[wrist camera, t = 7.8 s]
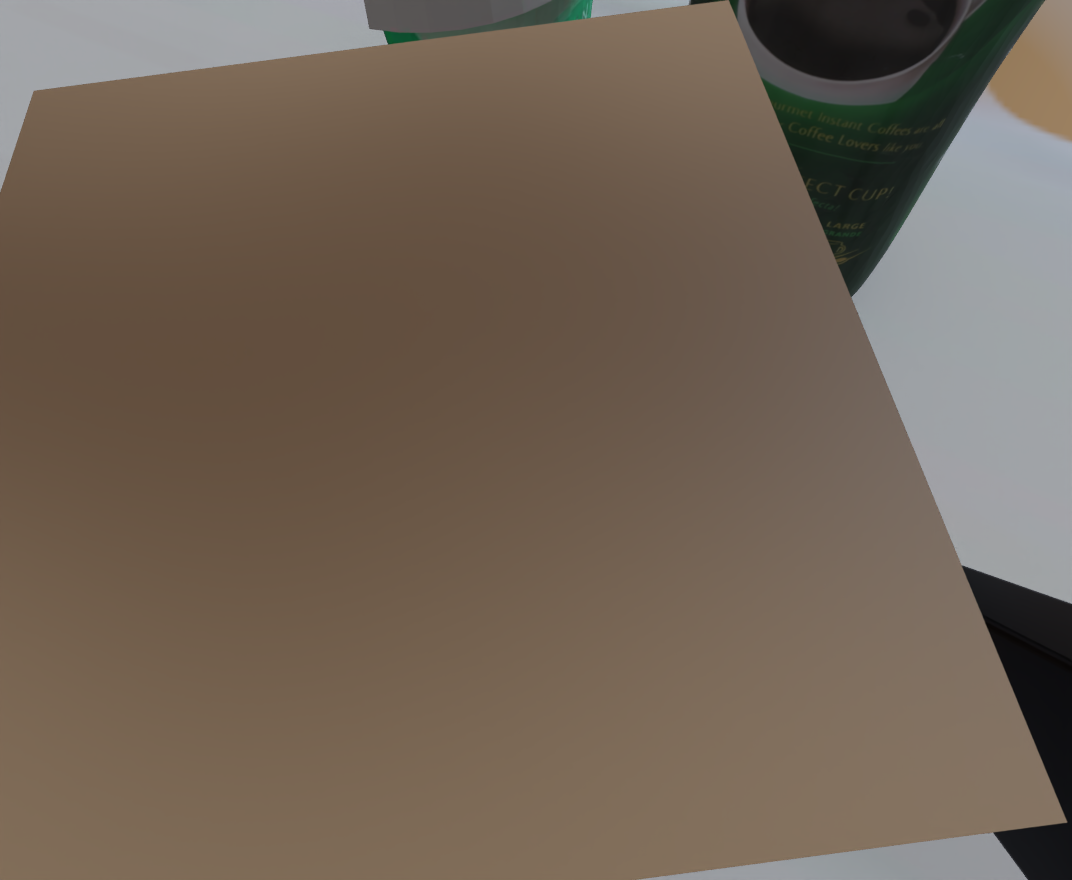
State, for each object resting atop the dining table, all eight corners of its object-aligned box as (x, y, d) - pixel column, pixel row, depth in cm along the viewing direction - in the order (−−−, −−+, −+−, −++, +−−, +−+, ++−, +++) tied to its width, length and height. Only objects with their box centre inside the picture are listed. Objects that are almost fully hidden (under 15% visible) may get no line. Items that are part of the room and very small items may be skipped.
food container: (561, 248, 24) (565, -13, 15) (425, 217, 25) (346, -50, 15) (631, 51, 28) (669, -252, 19) (512, 30, 29) (492, -270, 19)
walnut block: (642, 700, 14) (1067, 824, 2) (441, 726, 14) (-266, 1001, 2) (607, 506, 16) (728, -1, 4) (431, 529, 16) (34, 89, 4)
